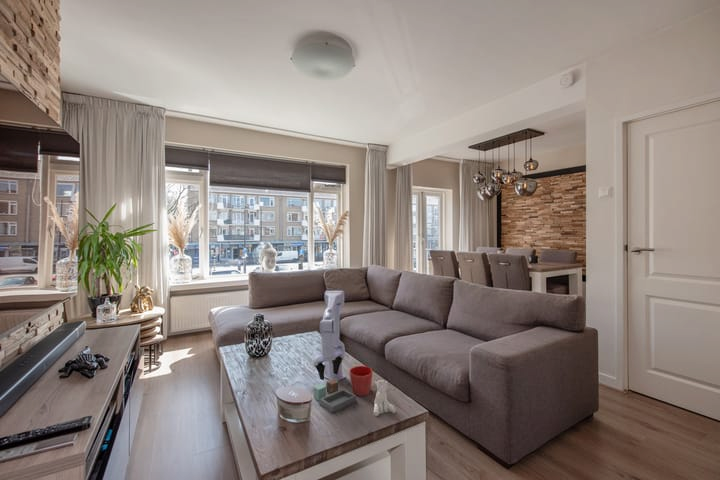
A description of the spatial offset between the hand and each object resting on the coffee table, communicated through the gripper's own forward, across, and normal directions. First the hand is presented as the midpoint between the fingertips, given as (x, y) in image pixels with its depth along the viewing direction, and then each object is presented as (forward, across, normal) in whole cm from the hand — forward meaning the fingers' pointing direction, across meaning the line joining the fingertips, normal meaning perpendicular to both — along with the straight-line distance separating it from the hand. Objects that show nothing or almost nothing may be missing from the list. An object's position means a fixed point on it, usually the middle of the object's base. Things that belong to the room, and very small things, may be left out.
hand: (328, 376), depth 140 cm
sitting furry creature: (+10, +10, -23) cm, 27 cm away
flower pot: (+10, +14, -6) cm, 18 cm away
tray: (+10, 0, -6) cm, 12 cm away
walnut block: (+10, +4, +3) cm, 11 cm away
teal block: (+10, -3, +3) cm, 10 cm away
